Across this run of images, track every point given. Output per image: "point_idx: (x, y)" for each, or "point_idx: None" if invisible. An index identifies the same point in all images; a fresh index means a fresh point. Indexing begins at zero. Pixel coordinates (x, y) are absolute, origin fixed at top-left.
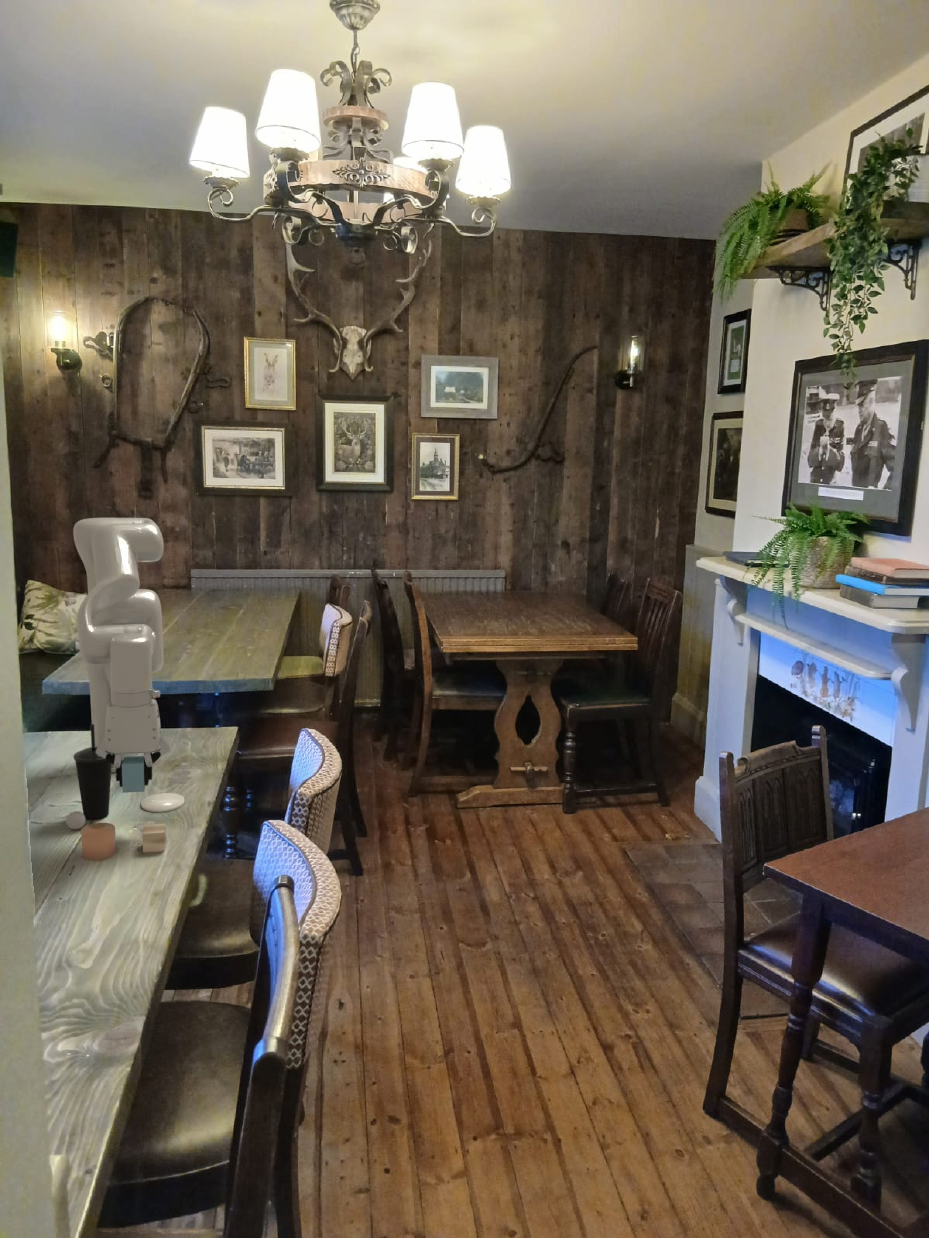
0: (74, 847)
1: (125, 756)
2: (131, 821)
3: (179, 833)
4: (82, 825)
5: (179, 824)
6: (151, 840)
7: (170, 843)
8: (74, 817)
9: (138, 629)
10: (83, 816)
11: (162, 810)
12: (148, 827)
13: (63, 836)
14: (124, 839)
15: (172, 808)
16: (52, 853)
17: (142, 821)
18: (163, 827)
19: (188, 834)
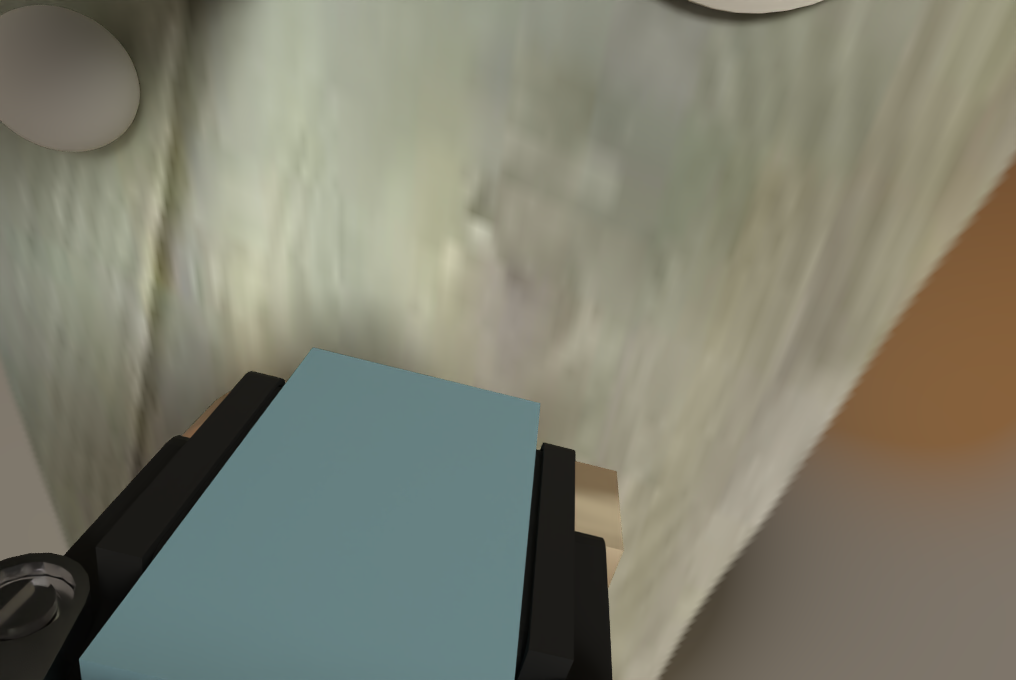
0: (146, 345)
1: (108, 663)
2: (467, 103)
3: (714, 407)
4: (132, 121)
5: (758, 286)
6: None
7: (631, 496)
8: (34, 138)
9: None
10: (99, 111)
11: (721, 8)
12: None
13: (53, 174)
14: (404, 357)
15: (808, 4)
16: (49, 368)
17: (540, 135)
18: None
19: (757, 438)
